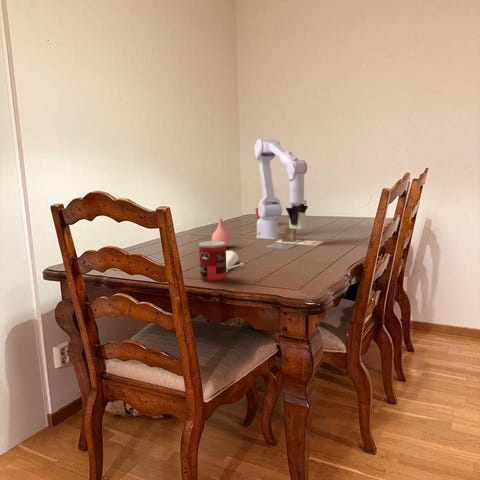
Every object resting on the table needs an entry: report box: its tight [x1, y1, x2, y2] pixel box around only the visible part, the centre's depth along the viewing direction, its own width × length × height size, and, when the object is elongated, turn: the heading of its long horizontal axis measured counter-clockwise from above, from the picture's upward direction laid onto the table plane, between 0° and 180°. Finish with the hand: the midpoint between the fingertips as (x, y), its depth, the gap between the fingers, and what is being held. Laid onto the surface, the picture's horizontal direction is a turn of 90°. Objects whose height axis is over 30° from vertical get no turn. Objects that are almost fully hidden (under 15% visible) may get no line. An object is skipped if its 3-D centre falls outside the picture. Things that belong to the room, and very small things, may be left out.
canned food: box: [198, 240, 228, 283], centre depth 131 cm, size 8×8×11 cm
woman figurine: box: [226, 250, 245, 273], centre depth 146 cm, size 12×4×18 cm
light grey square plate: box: [265, 242, 299, 251], centre depth 178 cm, size 10×10×1 cm
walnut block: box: [281, 225, 297, 243], centre depth 189 cm, size 5×5×6 cm
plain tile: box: [275, 239, 303, 244], centre depth 189 cm, size 9×9×1 cm
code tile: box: [295, 239, 324, 246], centre depth 184 cm, size 9×9×1 cm
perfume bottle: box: [211, 218, 231, 247], centre depth 177 cm, size 8×8×12 cm
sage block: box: [288, 212, 307, 230], centre depth 179 cm, size 5×5×6 cm
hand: (296, 223), depth 179 cm, fingers closed on sage block, 5 cm apart
